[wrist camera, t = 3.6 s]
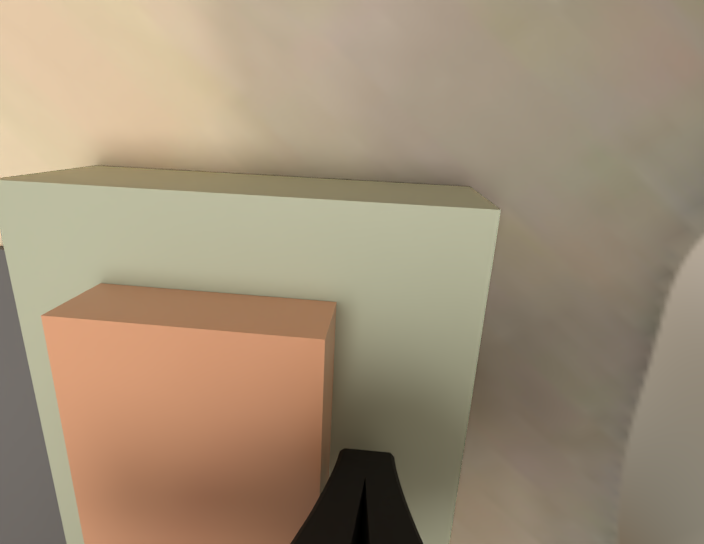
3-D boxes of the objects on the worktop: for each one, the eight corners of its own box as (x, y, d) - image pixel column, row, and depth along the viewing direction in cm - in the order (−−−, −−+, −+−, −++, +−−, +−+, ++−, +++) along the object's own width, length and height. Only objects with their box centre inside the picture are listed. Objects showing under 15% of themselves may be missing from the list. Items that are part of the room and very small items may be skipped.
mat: (142, 585, 20) (138, 592, 20) (-61, 561, 21) (-67, 567, 21) (93, 253, 15) (88, 255, 15) (-171, 234, 16) (-182, 236, 16)
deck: (411, 633, 20) (416, 753, 16) (154, 602, 21) (101, 709, 17) (469, 186, 14) (500, 209, 10) (95, 165, 14) (-11, 179, 10)
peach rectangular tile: (325, 571, 14) (314, 643, 12) (137, 549, 14) (97, 615, 12) (336, 302, 11) (325, 339, 9) (100, 283, 11) (40, 315, 9)
